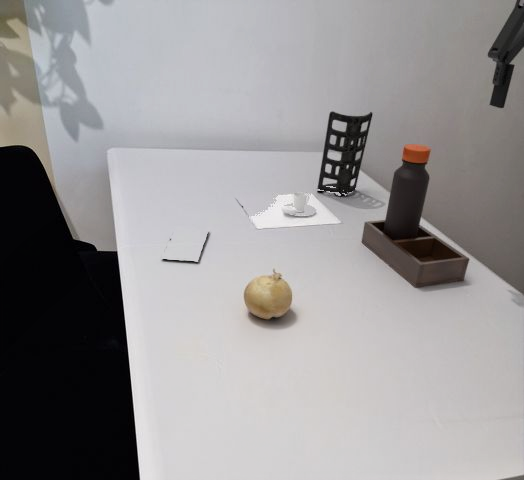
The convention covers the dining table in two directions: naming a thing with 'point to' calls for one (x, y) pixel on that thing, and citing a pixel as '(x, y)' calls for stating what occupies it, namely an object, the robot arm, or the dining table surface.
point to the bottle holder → (417, 256)
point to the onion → (268, 296)
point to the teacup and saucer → (293, 212)
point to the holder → (344, 152)
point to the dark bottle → (408, 194)
